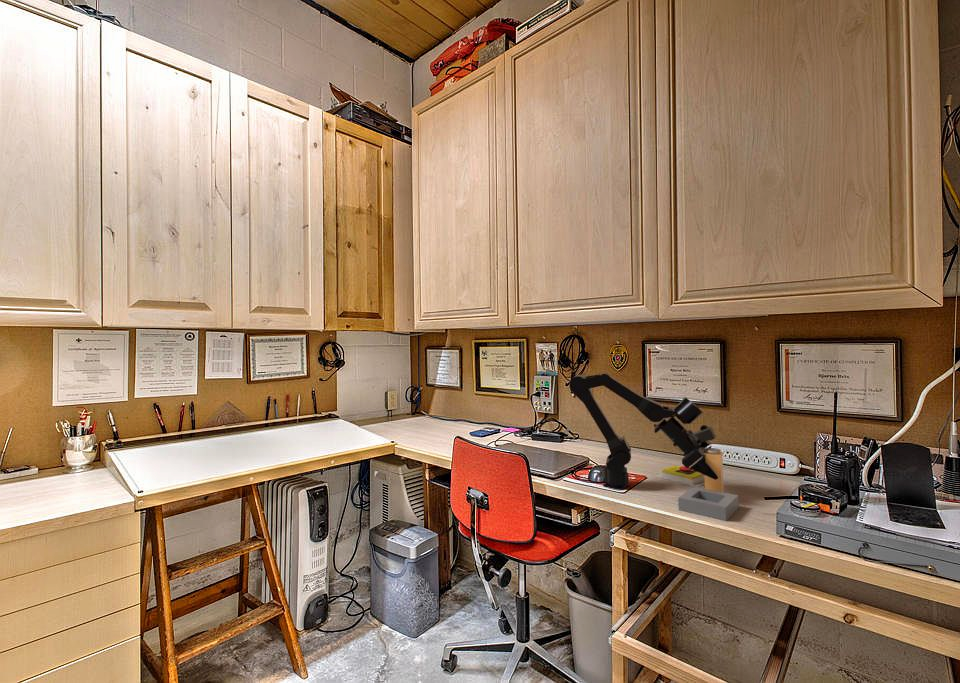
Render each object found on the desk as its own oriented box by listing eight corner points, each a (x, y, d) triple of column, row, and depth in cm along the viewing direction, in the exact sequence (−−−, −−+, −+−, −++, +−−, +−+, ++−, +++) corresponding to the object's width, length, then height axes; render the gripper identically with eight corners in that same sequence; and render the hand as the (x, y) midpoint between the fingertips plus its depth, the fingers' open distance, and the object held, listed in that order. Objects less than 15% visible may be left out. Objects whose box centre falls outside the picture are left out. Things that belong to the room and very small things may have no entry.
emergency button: (697, 474, 145) (654, 465, 157) (697, 488, 145) (655, 477, 157) (711, 469, 150) (669, 460, 162) (712, 482, 150) (670, 472, 162)
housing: (678, 510, 126) (678, 497, 126) (693, 498, 135) (693, 486, 135) (725, 521, 118) (725, 507, 118) (738, 507, 126) (738, 495, 126)
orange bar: (705, 496, 135) (703, 450, 135) (707, 492, 139) (705, 447, 139) (722, 499, 133) (720, 452, 133) (723, 494, 137) (722, 448, 137)
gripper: (692, 422, 131) (737, 465, 124) (702, 413, 146) (742, 450, 140) (664, 447, 135) (706, 489, 129) (676, 435, 150) (714, 472, 144)
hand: (719, 474), depth 135 cm, fingers open, 9 cm apart
